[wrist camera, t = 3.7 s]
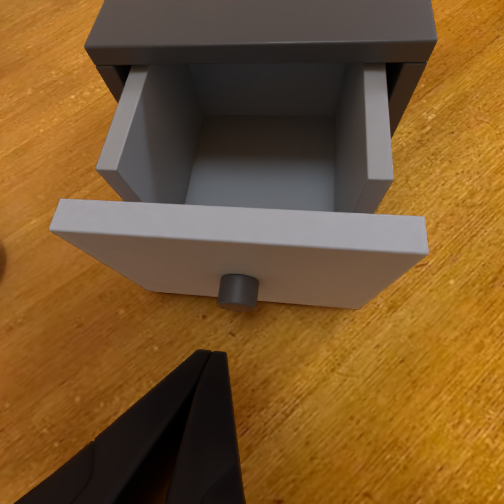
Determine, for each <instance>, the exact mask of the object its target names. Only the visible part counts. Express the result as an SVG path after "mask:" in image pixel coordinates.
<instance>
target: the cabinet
mask: <svg viewBox="0 0 504 504" xmlns="http://www.w3.org/2000/svg"><path fill="white" fill-rule="evenodd" d="M436 43H437V34H436V28H435V22H434V16H433V10H432V5H431V0H105V1H104V3H103V5H102V7H101V9H100V12H99V14H98V16H97V18H96V20H95V23H94V25H93V27H92V29H91V32H90V34H89V36H88V38H87V40H86V43H85V45H84V48H85V50H86V51H87V53H88V55H89V56H90V58H91V60H92V61H93V63H94V64H95V65H96V68H97V70H98V72H99V73H100V75H101V77H102V78H103V80H104V82H105V83H106V85H107V87H108V88H109V90H110V91H111V93H112V95H113V96H114V98H115V100H116V101H117V103H119V101H120V98H121V95H122V92H123V89H124V86H125V84H126V81H127V78H128V75H129V72H130V70H131V67H132V65H179V64H282V63H385V68H386V82H387V95H388V108H389V122H390V135H391V139H392V136H393V134H394V132H395V130H396V128H397V126H398V124H399V122H400V120H401V117H402V115H403V113H404V111H405V109H406V107H407V105H408V103H409V101H410V99H411V96H412V94H413V92H414V90H415V88H416V86H417V84H418V82H419V80H420V78H421V75H422V73H423V71H424V69H425V67H426V65H427V61H428V60H429V58H430V55H431V53H432V51H433V49H434V47H435V45H436Z"/></svg>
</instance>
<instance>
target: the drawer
mask: <svg viewBox="0 0 504 504" xmlns="http://www.w3.org/2000/svg"><path fill="white" fill-rule="evenodd" d="M95 169H96V171H97V172H98V173H99V174H100V175H101V176H102V177H103V178H104V179H105V181H106V182H107V183H108V184H109V185H110V186H111V187H112V188H113V189H114V190H115V191H116V193H117V194H118V195H119V196H120V197H121V198H122V199H123V200H124V201H125V202H121V201H101V200H80V199H60V201H59V203H58V206H57V208H56V211H55V214H54V216H53V219H52V221H51V224H50V227H49V231H51V232H52V233H54V234H56V235H57V236H59V237H61V238H62V239H64V240H66V241H67V242H69V243H70V244H72V245H74V246H75V247H77V248H79V249H80V250H82V251H84V252H85V253H87V254H89V255H90V256H92V257H93V258H95V259H97V260H98V261H100V262H102V263H103V264H105V265H107V266H108V267H110V268H112V269H113V270H115V271H117V272H118V273H120V274H121V275H123V276H125V277H126V278H128V279H130V280H131V281H133V282H135V283H136V284H138V285H140V286H141V287H143V288H144V289H146V290H148V291H154V292H165V293H177V294H188V295H200V296H211V297H218V299H217V306H219V307H220V308H223V309H226V310H231V311H239V312H251V311H255V310H256V308H257V301H269V302H280V303H292V304H303V305H315V306H326V307H338V308H349V309H360V308H362V307H363V306H364V305H365V304H367V303H368V302H369V301H370V300H372V299H373V298H374V297H375V296H377V295H378V294H379V293H380V292H382V291H383V290H384V289H386V288H387V287H388V286H389V285H391V284H392V283H393V282H394V281H396V280H397V279H398V278H399V277H401V276H402V275H403V274H404V273H406V272H407V271H408V270H410V269H411V268H412V267H413V266H415V265H416V264H417V263H418V262H420V261H421V260H422V259H423V258H425V257H426V256H427V255H428V253H429V250H428V241H427V233H426V224H425V218H424V217H423V216H405V215H385V214H374V213H375V211H376V209H377V208H378V206H379V204H380V202H381V201H382V199H383V197H384V196H385V194H386V192H387V191H388V189H389V187H390V186H391V184H392V182H393V180H394V175H393V162H392V148H391V135H390V122H389V108H388V95H387V82H386V68H385V63H282V64H179V65H132V67H131V70H130V72H129V75H128V78H127V81H126V84H125V86H124V89H123V92H122V95H121V98H120V101H119V103H118V106H117V109H116V112H115V115H114V117H113V120H112V123H111V126H110V129H109V132H108V134H107V137H106V140H105V143H104V146H103V148H102V151H101V154H100V157H99V160H98V163H97V165H96V168H95Z"/></svg>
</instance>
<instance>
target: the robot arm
mask: <svg viewBox="0 0 504 504" xmlns="http://www.w3.org/2000/svg"><path fill="white" fill-rule="evenodd" d="M14 504H246V501H245V495H244V488H243V482H242V473H241V466H240V458H239V450H238V442H237V434H236V425H235V417H234V409H233V401H232V392H231V384H230V376H229V368H228V359H227V353H226V352H221V351H213V352H212V351H210V350H203V349H198V350H196V351H195V352H194V353H193V354H192V355H191V356H189V357H188V358H187V359H186V360H185V361H184V362H182V363H181V364H180V365H179V366H178V367H177V368H176V369H174V370H173V371H172V372H171V373H170V374H169V375H167V376H166V377H165V378H164V379H163V380H162V381H160V382H159V383H158V384H157V385H156V386H155V387H154V388H152V389H151V390H150V391H149V392H148V393H147V394H145V395H144V396H143V397H142V398H141V399H140V400H138V401H137V402H136V403H135V404H134V405H133V406H132V407H130V408H129V409H128V410H127V411H126V412H125V413H123V414H122V415H121V416H120V417H119V418H118V419H116V420H115V421H114V422H113V423H112V424H111V425H110V426H108V427H107V428H106V429H105V430H104V431H103V432H101V433H100V434H99V435H98V436H97V437H96V438H95V439H94V441H91V442H90V443H89V444H87V445H86V446H85V447H84V448H83V449H82V450H80V451H79V452H78V453H77V454H76V455H75V456H73V457H72V458H71V459H70V460H69V461H67V462H66V463H65V464H64V465H62V466H61V467H60V468H59V469H58V470H56V471H55V472H54V473H53V474H52V475H50V476H49V477H48V478H46V479H45V480H44V481H42V482H41V483H40V484H39V485H37V486H36V487H35V488H33V489H32V490H31V491H30V492H28V493H27V494H26V495H24V496H23V497H22V498H20V499H19V500H18V501H16V502H15V503H14Z"/></svg>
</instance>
